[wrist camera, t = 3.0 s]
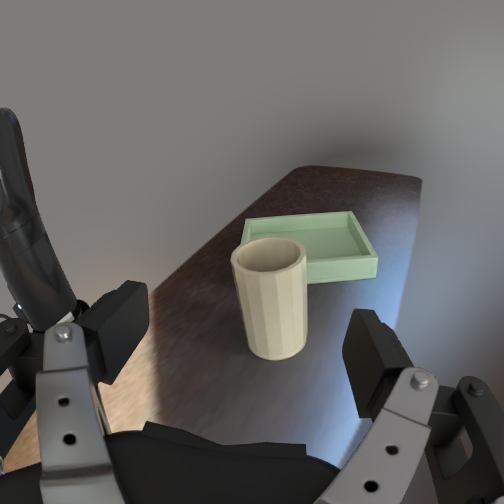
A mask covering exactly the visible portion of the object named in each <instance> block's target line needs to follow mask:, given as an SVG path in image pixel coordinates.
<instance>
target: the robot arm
mask: <svg viewBox="0 0 504 504" xmlns="http://www.w3.org/2000/svg"><path fill="white" fill-rule="evenodd" d="M0 270H1V272H2V274H3V276H4V278H5V280H6V282H7V284H8V285H7V286H8V289H9V291H10V292H11V294H12V296H13V298H14V300H15V301H16V304H15V305H14V307H13V310H14V311H15V313H16V315H17V316H18V318H11V317H9V316H7V315H5V314H0V318H5V319H7V320H5V321H3V322H1V323H0V376H1V375H2V374H3V373H4V371H5V370H6V369H7V368H8V369H9V371H10V374H11V376H12V378H13V379H12V381H11V382H10V383H9V384H8V385H7V387H6V388H5V389H4V390H3V391H2V393H1V394H0V504H400V502H401V500H402V498H403V496H404V494H405V492H406V490H407V488H408V486H409V484H410V481H411V479H412V477H413V475H414V473H415V470H416V468H417V466H418V463H419V461H420V459H421V456H422V454H423V451H425V454H426V458H427V461H428V464H429V468H430V472H431V475H432V479H433V483H434V487H435V491H436V495H437V499H438V503H439V504H504V412H503V410H502V408H501V406H500V405H499V403H498V401H497V400H496V398H495V396H494V395H493V393H492V392H491V390H490V388H489V387H488V386H487V384H486V383H485V382H483V381H482V380H481V379H479V378H476V377H473V376H466V377H463V378H462V379H461V380H460V381H459V383H458V385H457V386H456V388H452V387H446V386H440V385H439V383H438V380H437V378H436V377H435V376H434V375H433V374H432V373H431V372H429V371H427V370H425V369H423V368H419V367H414V366H413V364H412V362H411V360H410V358H409V357H408V355H407V353H406V351H405V350H404V348H403V347H402V345H401V343H400V341H399V340H398V338H397V336H396V334H395V332H394V331H393V330H392V329H391V328H390V327H389V326H387V325H386V324H385V323H381V321H380V320H379V318H378V316H377V315H376V313H375V311H374V310H368V309H354V311H353V313H352V315H351V319H350V322H349V326H348V329H347V332H346V336H345V339H344V342H343V347H342V356H343V360H344V364H345V367H346V371H347V374H348V378H349V381H350V385H351V388H352V392H353V396H354V400H355V403H356V407H357V411H358V415H359V418H371V419H372V422H373V424H372V425H371V427H370V429H369V431H368V432H367V433H366V435H365V437H364V438H363V440H362V441H361V443H360V444H359V446H358V447H357V449H356V450H355V451H354V453H353V454H352V456H351V457H350V459H349V460H348V461H347V463H346V464H345V465H344V467H343V468H342V469H341V470H340V469H339V468H337V467H336V466H334V465H332V464H330V463H328V462H326V461H324V460H322V459H319V458H316V457H313V456H309V455H306V444H287V443H271V442H263V443H253V444H241V445H220V444H217V443H214V442H212V441H209V440H207V439H204V438H202V437H199V436H197V435H194V434H192V433H190V432H187V431H185V430H182V429H177V428H173V427H169V426H165V425H161V424H157V423H153V422H149V421H146V423H145V425H144V427H143V430H142V431H140V430H131V431H121V432H116V433H112V432H111V429H110V426H109V423H108V420H107V416H106V413H105V409H104V406H103V402H102V398H101V394H100V390H99V387H98V383H99V382H102V383H105V384H109V385H112V384H113V382H114V381H115V379H116V377H117V376H118V374H119V373H120V371H121V370H122V368H123V367H124V365H125V364H126V362H127V361H128V359H129V358H130V356H131V355H132V353H133V352H134V350H135V349H136V347H137V346H138V344H139V343H140V341H141V340H142V338H143V337H144V335H145V334H146V332H147V330H148V327H149V305H148V290H147V285H146V284H145V283H141V282H136V281H130V280H127V281H126V282H124V283H123V284H122V285H121V286H120V287H119V288H118V289H117V290H113V291H111V292H108V293H106V294H104V295H103V296H102V297H101V298H99V299H98V300H97V302H95V303H94V304H93V305H92V306H91V308H88V309H87V310H86V311H85V312H84V313H83V309H82V307H81V305H80V304H79V303H78V301H77V299H76V297H75V295H74V293H73V291H72V289H71V288H70V285H69V283H68V281H67V279H66V277H65V275H64V272H63V270H62V268H61V266H60V264H59V261H58V259H57V257H56V255H55V252H54V250H53V248H52V245H51V243H50V240H49V238H48V235H47V233H46V230H45V228H44V225H43V222H42V220H41V217H40V214H39V212H38V208H37V205H36V201H35V195H34V189H33V184H32V181H31V177H30V173H29V168H28V165H27V159H26V153H25V147H24V142H23V136H22V132H21V128H20V125H19V122H18V119H17V117H16V116H15V114H14V113H13V112H12V111H11V110H10V109H8V108H0ZM27 324H30V326H31V328H32V329H33V331H34V332H35V333H29V329H28V326H27ZM35 410H36V412H37V428H38V439H39V448H40V456H41V462H39V463H36V464H33V465H30V466H27V467H24V468H21V469H18V470H15V471H12V472H8V473H5V474H4V472H3V460H4V458H5V457H6V455H7V453H8V452H9V450H10V449H11V447H12V445H13V444H14V442H15V440H16V439H17V437H18V436H19V434H20V433H21V431H22V429H23V428H24V426H25V425H26V423H27V422H28V420H29V419H30V417H31V416H32V414H33V413H34V411H35ZM465 431H467V433H468V436H469V438H470V440H471V442H472V445H473V453H472V456H471V458H470V459H468V456H467V454H466V451H465V449H464V446H463V444H462V441H461V439H460V437H461V436H462V435H463V433H464V432H465Z"/></svg>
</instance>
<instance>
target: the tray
mask: <svg viewBox="0 0 504 504" xmlns="http://www.w3.org/2000/svg"><path fill="white" fill-rule="evenodd" d="M267 236H281V237H288V238H291V239H294V240H296V241H298V242H300V243H301V244H302V245H303V246H304V247H305V252H306V270H307V284H313V283H325V282H337V281H348V280H359V279H370V278H376V271H377V263H378V256H377V255H376V253H375V251H374V249H373V247H372V246H371V244H370V242H369V240H368V238H367V237H366V235H365V233H364V231H363V230H362V228H361V226H360V225H359V223H358V221H357V220H356V218H355V216H354V215H353V213H352V211H349V212H331V213H316V214H302V215H289V216H276V217H264V218H252V219H246V221H245V226H244V231H243V235H242V240H241V244H243V243H245V242H247V241H249V240H252V239H256V238H260V237H267Z"/></svg>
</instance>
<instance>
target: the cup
mask: <svg viewBox="0 0 504 504" xmlns="http://www.w3.org/2000/svg"><path fill="white" fill-rule="evenodd" d="M231 266H232V271H233V276H234V281H235V286H236V291H237V296H238V301H239V306H240V311H241V316H242V321H243V326H244V331H245V335H246V339H247V342H248V346H249V348H250V350H251V351H252V352H253V353H254V354H256V355H257V356H259V357H261V358H264V359H268V360H282V359H286V358H289V357H292V356H294V355H295V354H297V353H298V352H299V351H300V350H301V349H302V348H303V347H304V345H305V343H306V340H307V270H306V252H305V247H304V246H303V245H302V244H301V243H300V242H298V241H296V240H294V239H291V238H288V237H281V236H267V237H260V238H256V239H252V240H249V241H247V242H245V243H243V244H241V245H240V246H238V247H237V248H236V249H235V250H234V251H233V253H232V256H231Z"/></svg>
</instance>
